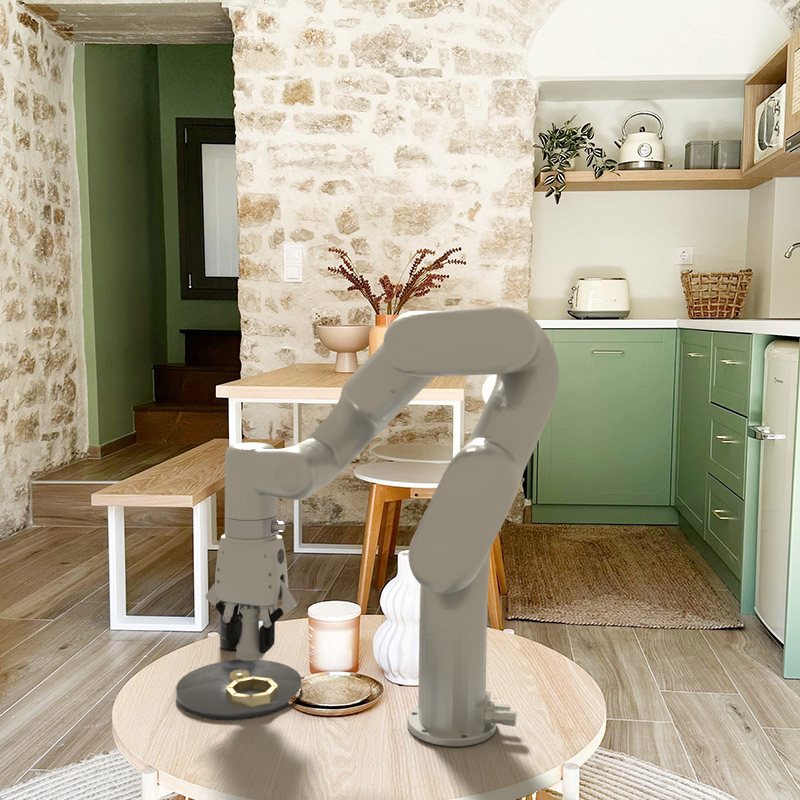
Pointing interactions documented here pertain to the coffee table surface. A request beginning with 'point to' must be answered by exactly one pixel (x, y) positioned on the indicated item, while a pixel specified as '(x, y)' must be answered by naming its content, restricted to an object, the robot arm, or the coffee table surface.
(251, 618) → the rook chess piece
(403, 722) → the coffee table surface
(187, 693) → the carrier plate
